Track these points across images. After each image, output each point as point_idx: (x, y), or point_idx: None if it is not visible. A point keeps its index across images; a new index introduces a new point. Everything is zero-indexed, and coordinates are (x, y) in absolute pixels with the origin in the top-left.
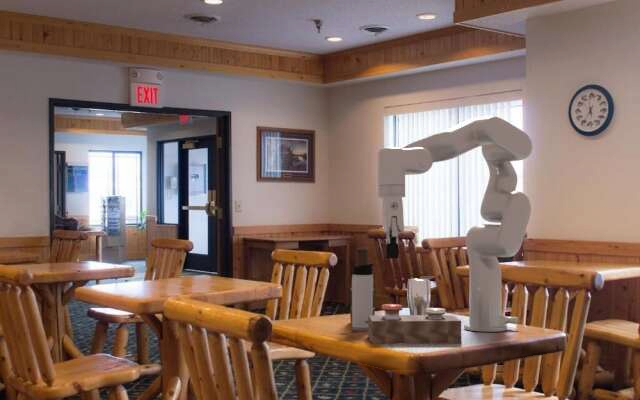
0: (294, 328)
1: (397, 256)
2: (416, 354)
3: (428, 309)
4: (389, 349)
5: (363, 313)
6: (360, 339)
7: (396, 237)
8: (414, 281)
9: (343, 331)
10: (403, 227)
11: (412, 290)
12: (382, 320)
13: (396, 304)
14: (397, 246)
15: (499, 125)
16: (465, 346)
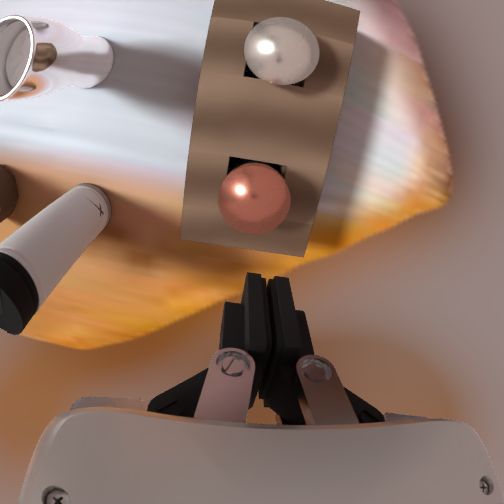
0: (81, 329)
1: (287, 287)
2: (435, 183)
3: (283, 74)
4: (372, 215)
5: (93, 229)
6: None
7: (381, 414)
8: (27, 77)
9: (109, 253)
10: (485, 450)
11: (45, 83)
12: (297, 228)
13: (230, 178)
14: (298, 338)
15: None
16: (382, 36)
